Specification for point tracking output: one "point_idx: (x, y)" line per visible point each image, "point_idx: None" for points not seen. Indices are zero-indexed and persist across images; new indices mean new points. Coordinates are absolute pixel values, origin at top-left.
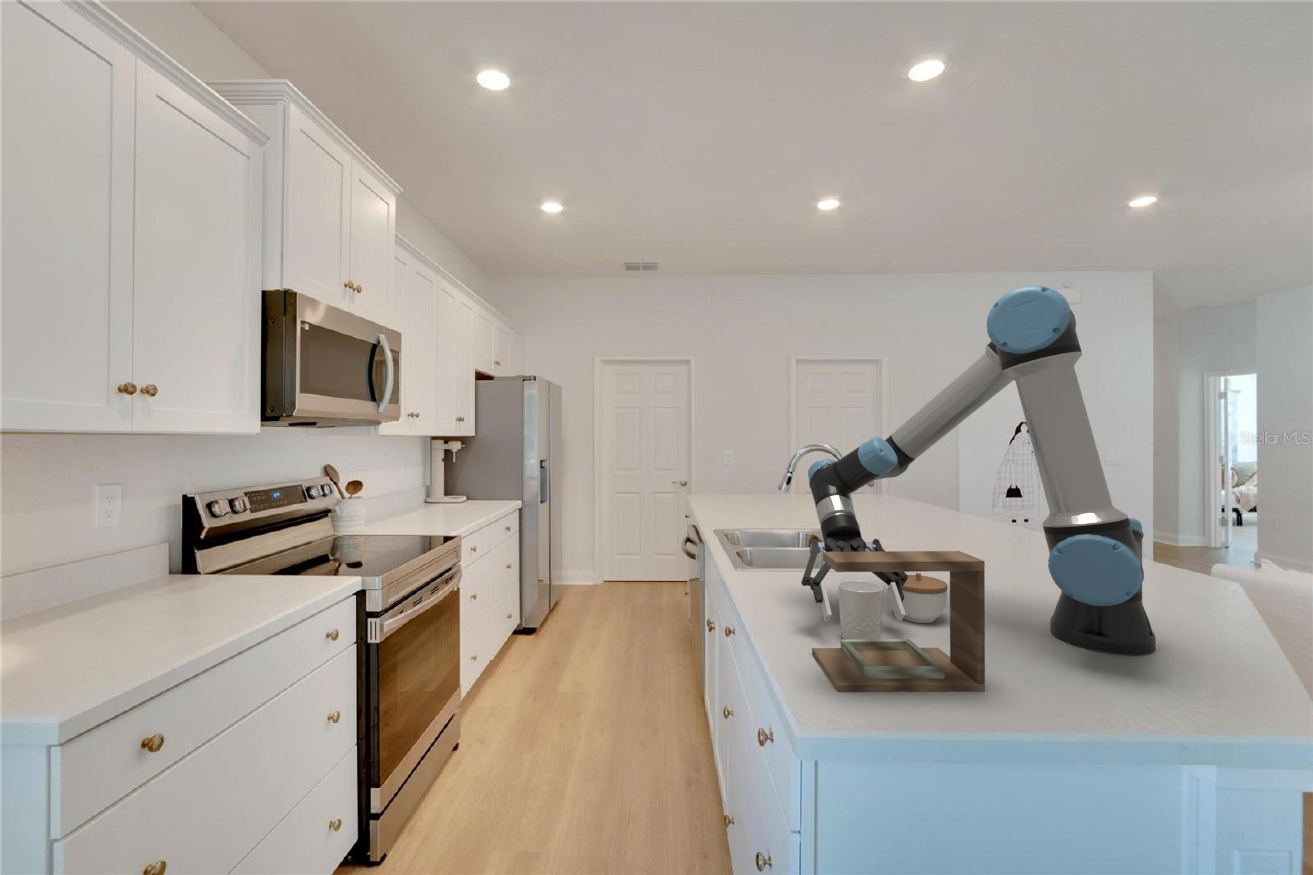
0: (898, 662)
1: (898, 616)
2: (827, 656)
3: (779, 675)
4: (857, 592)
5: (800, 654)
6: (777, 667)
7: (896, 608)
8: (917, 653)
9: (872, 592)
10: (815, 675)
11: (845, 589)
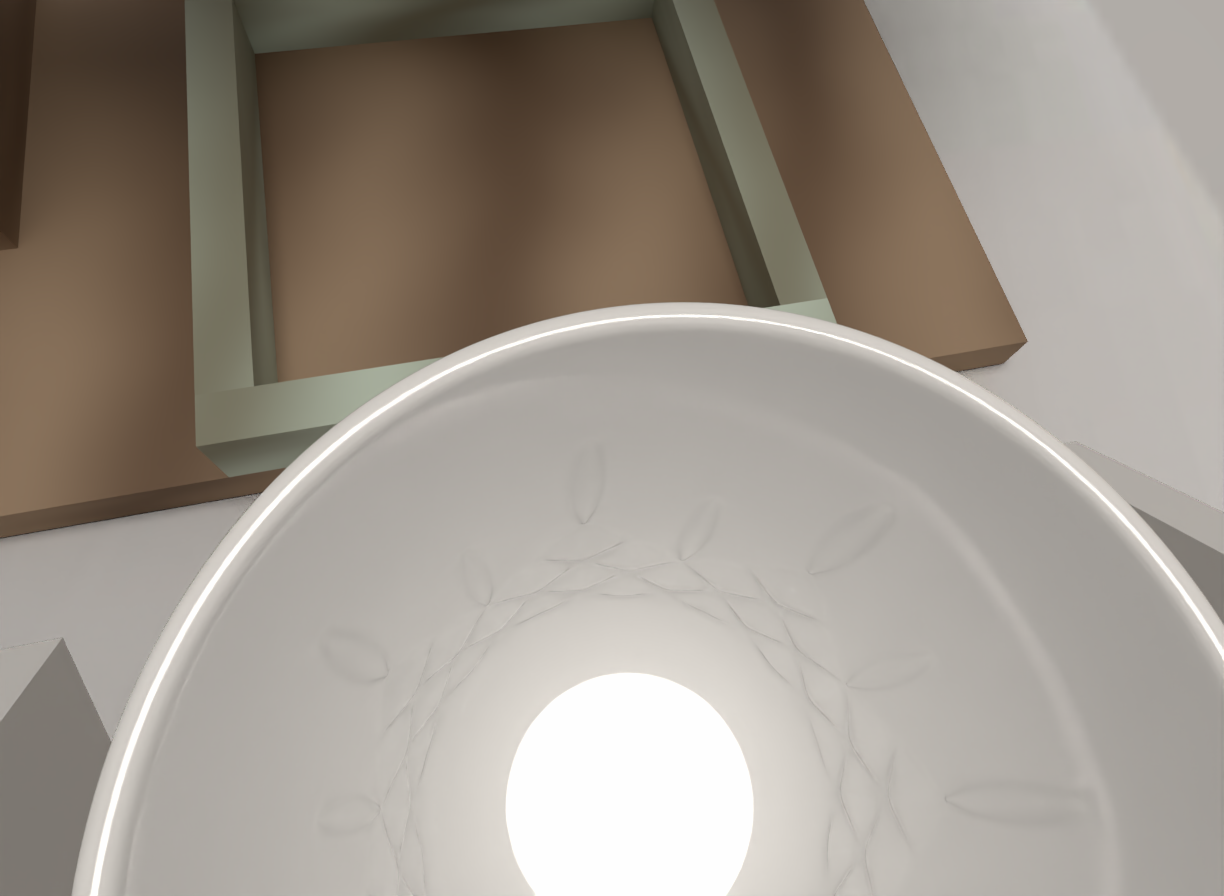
0: (426, 194)
1: (98, 761)
2: (904, 219)
3: (1118, 72)
4: (814, 324)
5: (1076, 344)
6: (1157, 152)
7: (34, 842)
8: (249, 211)
9: (502, 340)
10: (937, 91)
11: (1072, 455)
